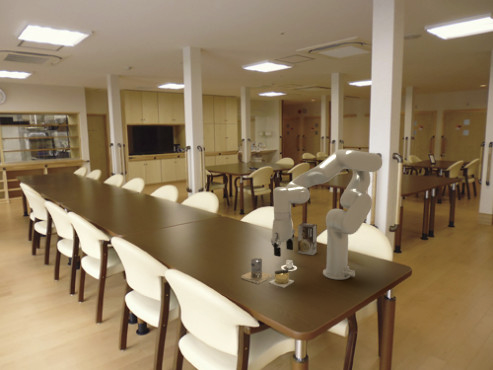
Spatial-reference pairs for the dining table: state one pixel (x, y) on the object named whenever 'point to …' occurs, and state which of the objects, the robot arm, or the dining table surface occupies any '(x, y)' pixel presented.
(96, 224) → the dining table surface
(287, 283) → the mat
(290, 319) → the dining table surface
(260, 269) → the post
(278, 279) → the cap
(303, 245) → the coffee box
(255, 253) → the dining table surface
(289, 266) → the teacup and saucer
